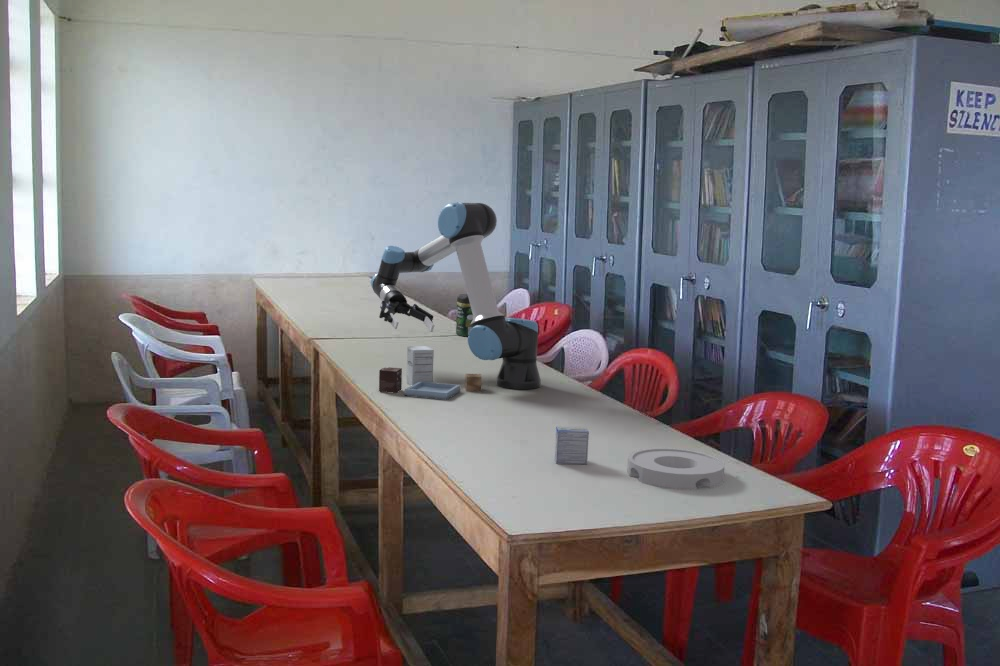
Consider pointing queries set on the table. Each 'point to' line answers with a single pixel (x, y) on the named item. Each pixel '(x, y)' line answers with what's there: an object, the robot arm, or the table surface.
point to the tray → (432, 390)
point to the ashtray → (675, 468)
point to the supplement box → (419, 364)
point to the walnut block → (473, 382)
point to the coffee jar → (463, 315)
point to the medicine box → (571, 445)
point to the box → (390, 379)
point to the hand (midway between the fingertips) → (414, 327)
